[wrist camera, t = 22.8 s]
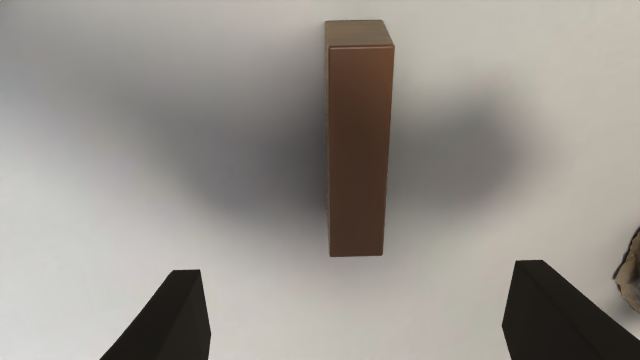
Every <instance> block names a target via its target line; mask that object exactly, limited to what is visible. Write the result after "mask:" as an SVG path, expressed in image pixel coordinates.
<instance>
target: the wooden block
mask: <svg viewBox="0 0 640 360" xmlns="http://www.w3.org/2000/svg"><path fill="white" fill-rule="evenodd" d="M394 51H395V46H394V44H393V42H392V40H391V38H390V35H389V33H388V31H387V29H386V27H385V25H384V23H383V21H382V20H357V21H326V22H325V75H326V176H327V223H328V239H329V255H330V257H352V256H382V254H383V243H384V226H385V208H386V191H387V173H388V156H389V138H390V121H391V104H392V86H393V69H394Z"/></svg>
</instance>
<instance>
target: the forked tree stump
mask: <svg viewBox="0 0 640 360" xmlns="http://www.w3.org/2000/svg"><path fill="white" fill-rule="evenodd" d="M615 283H616V284H619V285H620V288H621V293H622V296H623V297H624V298H625V299H626V300H627V301H628V303H629V305H630V306H631V307H633V309H634V310H636V311H637V312H638V313H639V314H640V232H638V236H637V237H635V238H634V239H633V240H632V245H631V246H630V252H629V254H628V256H627V258H626V262H625V263H624V264H623V265H622V267H621V268H620V270H619V272H618V274H617V276H616V278H615Z"/></svg>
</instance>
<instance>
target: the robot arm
mask: <svg viewBox="0 0 640 360" xmlns="http://www.w3.org/2000/svg"><path fill="white" fill-rule="evenodd" d="M502 328H503V332H504V336H505V339H506V343H507V346H508V350H509V353H510V356H511V360H640V340H638V339H637V338H636V337H635V336H633V335H632V334H631V333H629V332H628V331H627V330H626V329H624V328H623V327H622V326H621V325H619V324H618V323H617V322H616V321H614V320H613V319H612V318H611V317H609V316H608V315H607V314H606V313H605V312H603V311H602V310H601V309H600V308H599V307H597V306H596V305H595V304H594V303H593V302H591V301H590V300H589V299H588V298H587V297H586V296H584V295H583V294H582V293H581V292H580V291H579V290H577V289H576V288H575V287H574V286H573V285H572V284H570V283H569V282H568V281H567V280H566V279H565V278H563V277H562V276H561V275H560V274H559V273H558V272H556V271H555V270H554V269H553V268H552V267H551V266H549V265H548V264H547V263H546V262H544V261H543V260H521V261H516V262H515V266H514V271H513V276H512V280H511V285H510V290H509V294H508V299H507V303H506V308H505V313H504V317H503V322H502ZM210 339H211V331H210V325H209V319H208V313H207V307H206V301H205V296H204V290H203V284H202V278H201V272H200V270H173V271H172V272H171V273H170V274H169V275H168V276H167V278H166V279H165V280H164V282H163V283H162V284H161V286H160V287H159V288H158V290H157V291H156V292H155V294H154V295H153V296H152V298H151V299H150V300H149V302H148V303H147V304H146V305H145V307H144V308H143V309H142V310H141V312H140V313H139V314H138V315H137V317H136V318H135V319H134V320H133V322H132V323H131V324H130V325H129V326H128V328H127V329H126V330H125V331H124V332H123V334H122V335H121V336H120V337H119V338H118V340H117V341H116V342H115V343H114V344H113V345H112V346H111V348H110V349H109V350H108V351H107V352H106V353H105V354H104V355H103V356H102V357H101V358H100V360H208V356H209V347H210Z"/></svg>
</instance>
